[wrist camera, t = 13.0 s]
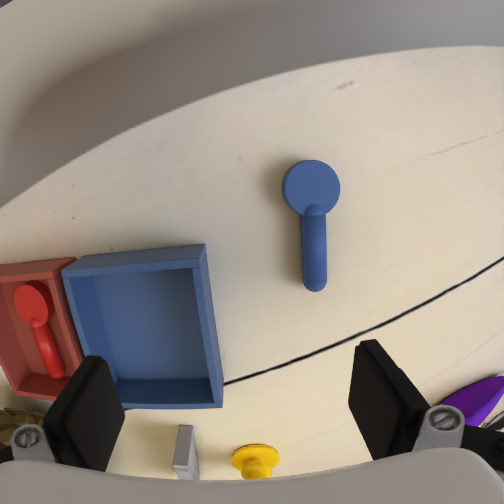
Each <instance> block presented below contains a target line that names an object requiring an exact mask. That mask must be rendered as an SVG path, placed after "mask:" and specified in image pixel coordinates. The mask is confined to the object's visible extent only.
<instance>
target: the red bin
mask: <svg viewBox="0 0 504 504" xmlns="http://www.w3.org/2000/svg"><path fill="white" fill-rule="evenodd" d="M75 261H76V258H75V257H68V258H59V259H50V260H40V261H31V262H22V263H14V264H5V265H0V364H1V366H2V368H3V371H4V373H5V375H6V377H7V379H8V381H9V383H10V385H11V387H12V389H13V391H14V393H15V394H16V395H21V396H26V397H32V398H38V399H44V400H50V401H55V400H56V398H57V397H58V396H59V394H60V393H61V391H62V390H63V388H64V387H65V385H66V384H67V382H68V381H69V380H70V378H71V377H72V375H73V374H74V372H75V371H76V370H77V368H78V367H79V365H80V364H81V363H82V361H83V360H84V358H85V355H84V352H83V349H82V346H81V343H80V340H79V337H78V334H77V330H76V327H75V324H74V320H73V317H72V313H71V310H70V306H69V303H68V299H67V295H66V291H65V287H64V283H63V278H62V275H61V270H62V269H64V268H65V267H67V266H68V265H70V264H71V263H73V262H75ZM29 280H38V281H40V282H42V283H43V284H44V285H45V286H46V287H47V288H48V289H49V290H50V292H51V295H52V298H53V302H54V306H55V311H54V315H53V316H52V318H51V319H50V320H49V321H48V324H49V327H50V330H51V333H52V336H53V339H54V342H55V345H56V347H57V350H58V353H59V356H60V358H61V361H62V363H63V366H64V369H65V373H64V375H63V377H62V378H60V379H54V378H52V377H51V376H50V375H49V373H48V371H47V368H46V366H45V364H44V361H43V359H42V356H41V354H40V351H39V348H38V346H37V343H36V340H35V337H34V335H33V332H32V329H31V326H30V325H29V324H27V323H26V322H25V321H24V320H23V319H22V318H21V317H20V315H19V313H18V312H17V309H16V306H15V302H14V296H15V292H16V290H17V288H18V287H19V286H20V285H22V284H24V283H25V282H27V281H29Z"/></svg>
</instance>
